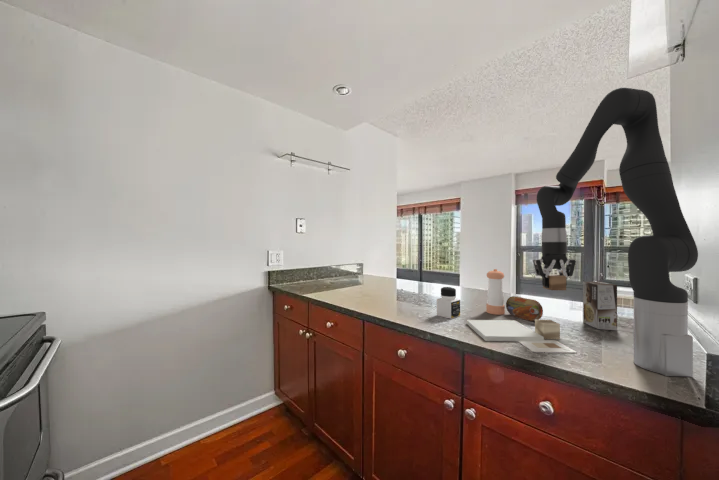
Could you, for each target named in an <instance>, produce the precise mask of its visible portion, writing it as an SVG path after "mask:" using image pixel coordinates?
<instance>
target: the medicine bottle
mask: <svg viewBox="0 0 719 480" xmlns="http://www.w3.org/2000/svg"><path fill="white" fill-rule="evenodd" d="M456 289H457V288H455V287H452V286H451V287H450V286H443V287H441V288H440V297H439V298H436V316H437V317H441V318H446V319H451V320H453V319H455V318H458V317H461V299H460V298H457V290H456Z"/></svg>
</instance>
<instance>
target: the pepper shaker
mask: <svg viewBox="0 0 719 480" xmlns="http://www.w3.org/2000/svg"><path fill="white" fill-rule="evenodd" d="M486 277H487V278H488V285H487V286H488V289H487V295H486V301H487V303H485V304H486V305H485V306H486V307H485V308H486V309H485V310H486V311H485V312H486V313H488V314H491V315H496V316H498V315H505V313H506V310H505V309H506V305H505V304H504V303H505V300H504V299H505V296H504V289H503V279H504V278H505V274H504V272H502V271H501V270H500V271H499V270H498V269H497V268H493V270H490V271H488V272H487V273H486Z"/></svg>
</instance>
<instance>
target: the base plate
mask: <svg viewBox="0 0 719 480" xmlns="http://www.w3.org/2000/svg"><path fill="white" fill-rule="evenodd" d="M466 325H467V326H469V327H470V328H471V329H472V330H473V331H474V332H475V333H476V334H477V335H478V336H479V337H481V339H482V340H484V341H486V342H518V340H521V341H544V340H545V339H544V337H543V336H541V335H539V334H538V333H536V332H535V330H533V329H531V328H530V327H527V326H526V325H523V324H522V323H520V322H519V321H517V320H513V319H512V320H509V319H508V320H507V319H506V320H503V319H502V320H501V319H500V320H499V319H498V320H497V319H466Z"/></svg>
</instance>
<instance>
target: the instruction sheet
mask: <svg viewBox="0 0 719 480" xmlns="http://www.w3.org/2000/svg"><path fill="white" fill-rule="evenodd" d="M517 343H519V344H521V345H522V346H524V347H525V348H526V349H527V350H529V351H531V352H532V353H544V352H545V353H549V354H550V353H551V354H552V353H556V354H557V353H558V354H559V353H560V354H561V353H563V354H577V353H578V352H577V351H576V350H574V349H572V348H570V347H569V346H567V345H565V344H563V343H561V342H560V341H558V340H557V339H544V341H521V340H518V341H517Z"/></svg>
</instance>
